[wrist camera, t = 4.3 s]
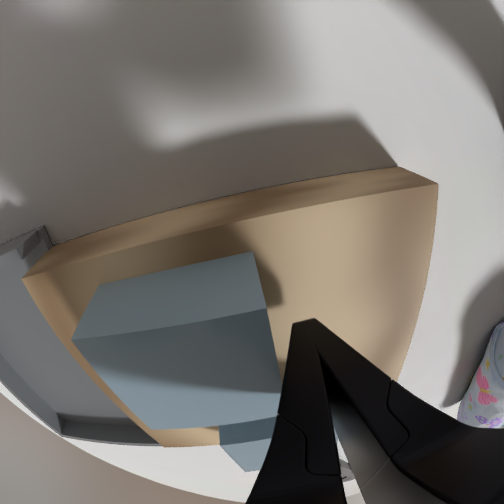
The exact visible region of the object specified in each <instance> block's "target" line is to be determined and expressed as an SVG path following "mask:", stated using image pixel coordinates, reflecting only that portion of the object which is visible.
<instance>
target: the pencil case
mask: <svg viewBox="0 0 504 504" xmlns="http://www.w3.org/2000/svg"><path fill="white" fill-rule="evenodd" d="M457 420H458V421H460V422H462V423H464V424H467V425H470V426H474V427H480V428H504V321H503V322H501V323H499V324H498V325H497V326H496V327H495V329H494V331H493V333H492V335H491V337H490V340H489V343H488V346H487V349H486V352H485V355H484V357H483V359H482V361H481V363H480V365H479V367H478V369H477V371H476V373H475V375H474V377H473V379H472V382H471V384H470V386H469V388H468V390H467V392H466V393H465V396H464V397H463V399H462V400H461V403H460V406H459V409H458V415H457Z"/></svg>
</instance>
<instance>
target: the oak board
mask: <svg viewBox="0 0 504 504" xmlns="http://www.w3.org/2000/svg"><path fill="white" fill-rule="evenodd" d="M437 200H438V183H436V182H433V181H431V180H429V179H427V178H425V177H422V176H420V175H418V174H416V173H413V172H411V171H409V170H406V169H404V168H401V167H391V168H383V169H375V170H368V171H361V172H354V173H347V174H341V175H335V176H329V177H323V178H317V179H311V180H305V181H300V182H294V183H289V184H284V185H279V186H274V187H269V188H264V189H259V190H254V191H249V192H245V193H240V194H236V195H231V196H227V197H222V198H218V199H214V200H210V201H205V202H201V203H197V204H193V205H189V206H185V207H181V208H177V209H174V210H170V211H166V212H162V213H159V214H155V215H151V216H148V217H144V218H141V219H137V220H134V221H130V222H127V223H123V224H120V225H117V226H113V227H110V228H107V229H104V230H100V231H97V232H94V233H91V234H88V235H85V236H82V237H79V238H76V239H73V240H70V241H67V242H64V243H61V244H58V245H55V246H53V247H52V248H51V249H50V250H49V251H46V252H45V253H44V254H43V255H42V256H41V257H40V258H39V259H38V260H37V262H36V263H35V264H34V265H33V266H32V267H31V268H30V269H29V270H28V272H27V273H26V274H25V275H24V276H23V277H22V278H21V279H22V281H23V283H24V285H25V286H26V288H27V290H28V292H29V293H30V295H31V297H32V298H33V300H34V302H35V303H36V305H37V307H38V308H39V310H40V311H41V313H42V314H43V316H44V318H45V319H46V321H47V322H48V324H49V325H50V326H51V328H52V329H53V331H54V332H55V334H56V335H57V336H58V338H59V339H60V340H61V342H62V343H63V344H64V346H65V347H66V348H67V350H68V351H69V352H70V354H71V355H72V356H73V357H74V359H75V360H76V361H77V362H78V364H79V365H80V366H81V367H82V368H83V370H84V371H85V372H86V373H87V374H88V375H89V377H90V378H91V379H92V380H93V381H94V382H95V383H96V384H97V385H98V387H99V388H100V389H101V390H102V391H103V392H104V393H105V394H106V395H107V396H108V397H109V398H110V399H111V400H112V401H113V402H114V403H115V404H116V405H117V406H118V407H119V408H120V409H121V410H122V411H123V412H124V413H125V414H126V415H127V416H128V417H129V418H130V419H131V420H133V421H134V422H135V423H136V424H137V425H138V426H139V427H140V428H141V429H143V430H144V431H145V432H146V433H147V434H148V435H150V436H151V437H152V438H153V439H154V440H156V441H157V442H158V443H159V444H161V445H162V446H163V447H192V446H207V445H219V444H220V439H219V426H210V427H199V428H185V429H161V430H151V429H150V428H149V427H148V426H147V425H146V424H145V423H144V422H143V421H142V420H141V419H139V418H138V417H137V416H136V415H135V414H134V413H133V412H132V411H131V410H130V409H129V408H128V407H127V406H126V405H125V404H124V403H123V402H122V401H121V400H120V398H119V397H118V396H117V395H116V394H115V393H114V392H113V391H112V390H111V389H110V388H109V387H108V385H107V384H106V383H105V382H104V381H103V380H102V379H101V377H100V376H99V375H98V374H97V373H96V371H95V370H94V369H93V368H92V367H91V365H90V364H89V363H88V362H87V360H86V359H85V358H84V357H83V355H82V354H81V353H80V351H79V350H78V349H77V347H76V346H75V345H74V343H73V342H72V341H71V338H72V336H73V334H74V332H75V330H76V328H77V326H78V323H79V321H80V319H81V317H82V316H83V314H84V312H85V310H86V308H87V306H88V304H89V302H90V300H91V298H92V296H93V295H94V293H95V291H96V289H97V287H98V286H99V285H100V284H104V283H109V282H113V281H118V280H123V279H127V278H132V277H136V276H141V275H145V274H150V273H155V272H159V271H164V270H168V269H173V268H177V267H182V266H187V265H191V264H196V263H200V262H205V261H209V260H214V259H219V258H223V257H228V256H232V255H237V254H241V253H246V252H251V251H253V254H254V258H255V262H256V266H257V270H258V274H259V279H260V283H261V287H262V291H263V295H264V299H265V303H266V307H267V312H268V317H269V322H270V327H271V332H272V337H273V341H274V346H275V351H276V356H277V361H278V366H279V371H280V376H281V381H282V384H283V378H284V372H285V366H286V360H287V354H288V347H289V341H290V334H291V327H292V324H293V323H295V322H299V321H303V320H307V319H311V318H316V319H317V320H318V321H320V322H321V323H322V324H323V325H325V326H326V327H327V328H328V329H330V330H331V331H332V332H333V333H335V334H336V335H337V336H339V337H340V338H341V339H342V340H344V341H345V342H346V343H347V344H349V345H350V346H351V347H352V348H354V349H355V350H356V351H357V352H359V353H360V354H361V355H363V356H364V357H365V358H366V359H368V360H369V361H370V362H371V363H373V364H374V365H375V366H377V367H378V368H379V369H380V370H382V371H383V372H384V373H385V374H387V375H388V376H389V377H391V380H395V381H396V382H397V380H398V377H399V374H400V372H401V369H402V366H403V364H404V361H405V358H406V355H407V352H408V349H409V346H410V343H411V339H412V336H413V333H414V329H415V326H416V322H417V319H418V315H419V311H420V307H421V303H422V299H423V294H424V290H425V285H426V281H427V276H428V270H429V265H430V259H431V253H432V246H433V239H434V231H435V223H436V213H437Z"/></svg>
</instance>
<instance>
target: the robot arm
mask: <svg viewBox="0 0 504 504" xmlns="http://www.w3.org/2000/svg"><path fill="white" fill-rule="evenodd" d="M277 414H278V415H277V416H276V421H275V426H274V430H273V434H272V438H271V442H270V445H269V448H268V451H267V454H266V457H265V460H264V462H263V465H262V467H261V469H260V472H259V474H258V477H257V479H256V481H255V484H254V486H253V488H252V491H251V493H250V495H249V497H248V499H247V501H246V503H245V504H347V501H346V497H345V492H344V487H343V481H342V477H341V468H340V461H339V455H338V449H337V443H336V437H335V432H334V429H335V431H336V434H337V436H338V438H339V441H340V443H341V445H342V448H343V450H344V453H345V455H346V457H347V460H348V462H349V464H350V467H351V469H352V472H353V474H354V476H355V479H356V481H357V484H358V486H359V488H360V491H361V493H362V496H363V498H364V501H365V503H366V504H504V428H480V427H474V426H470V425H467V424H464V423H462V422H460V421H458V420H456V419H454V418H453V417H451V416H449V415H447V414H445V413H444V412H442V411H440V410H438V409H436V408H435V407H433V406H431V405H429V404H428V403H426V402H424V401H423V400H421V399H420V398H418V397H416V396H415V395H413V394H412V393H411V392H409V391H408V390H406V389H405V388H404V387H402V386H401V385H400V384H398V383H397V382H396V381H395V380H391V377H389V376H388V375H387V374H385V373H384V372H383V371H382V370H380V369H379V368H378V367H377V366H375V365H374V364H373V363H371V362H370V361H369V360H368V359H366V358H365V357H364V356H363V355H361V354H360V353H359V352H357V351H356V350H355V349H354V348H352V347H351V346H350V345H349V344H347V343H346V342H345V341H344V340H342V339H341V338H340V337H339V336H337V335H336V334H335V333H333V332H332V331H331V330H330V329H328V328H327V327H326V326H325V325H323V324H322V323H321V322H320V321H318V320H317V319H316V318H311V319H307V320H303V321H299V322H295V323H293V324H292V327H291V334H290V341H289V347H288V354H287V360H286V366H285V372H284V378H283V384H282V390H281V395H280V401H279V406H278V411H277Z"/></svg>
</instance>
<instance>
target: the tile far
mask: <svg viewBox="0 0 504 504" xmlns="http://www.w3.org/2000/svg"><path fill="white" fill-rule="evenodd" d="M275 421H276V416H275V417H270V418H265V419H260V420H254V421H248V422H242V423H235V424H227V425H219V439H220V446H221V447H222V448H223V449H224V451H225V452H226V453H227V454H228V455H229V456H230V457H231V458H232V459H233V460H234V461H235V462H236V463H237V464H238V465H239V466H240V467H241V468H242V469H243V470H244V471H245V472H249V471H256V470H260V469H261V467H262V465H263V462H264V460H265V457H266V454H267V451H268V448H269V445H270V442H271V438H272V434H273V430H274V426H275ZM334 432H335V437H336V443H337V441H338V436H337V434H336V431H335V429H334Z"/></svg>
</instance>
